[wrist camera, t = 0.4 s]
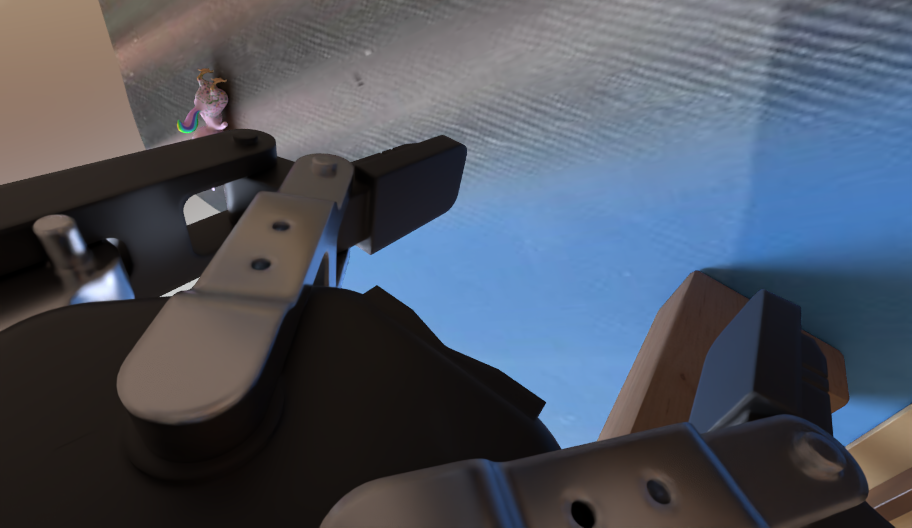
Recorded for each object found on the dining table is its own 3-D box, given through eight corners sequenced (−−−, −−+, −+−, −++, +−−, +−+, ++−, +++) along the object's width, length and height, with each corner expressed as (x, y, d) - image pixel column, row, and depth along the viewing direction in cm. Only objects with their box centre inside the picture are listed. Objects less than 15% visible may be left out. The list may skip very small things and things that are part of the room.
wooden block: (847, 351, 24) (901, 735, 11) (787, 393, 27) (777, 735, 14) (695, 265, 27) (602, 494, 14) (656, 312, 30) (549, 535, 17)
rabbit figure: (215, 63, 50) (208, 174, 58) (161, 58, 45) (162, 180, 53) (248, 86, 48) (236, 197, 56) (195, 84, 43) (191, 206, 51)
